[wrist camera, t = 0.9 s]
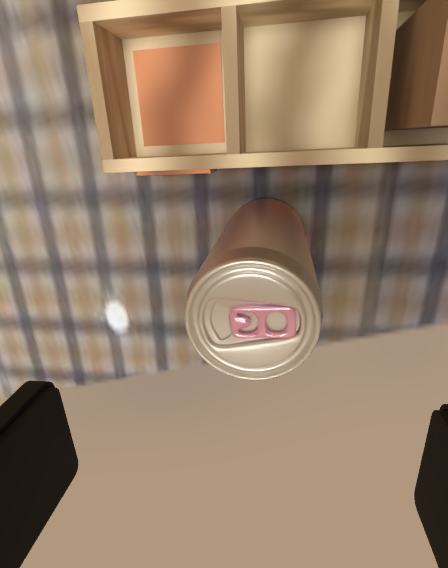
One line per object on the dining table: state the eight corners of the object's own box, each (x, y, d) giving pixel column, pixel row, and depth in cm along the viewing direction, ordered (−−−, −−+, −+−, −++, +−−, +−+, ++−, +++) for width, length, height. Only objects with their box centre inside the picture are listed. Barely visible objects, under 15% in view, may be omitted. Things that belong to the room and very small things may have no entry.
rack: (527, -13, 20) (598, -57, 16) (489, 158, 24) (538, 162, 19) (115, 30, 24) (76, 5, 20) (134, 171, 28) (104, 177, 23)
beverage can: (304, 268, 29) (325, 386, 15) (232, 271, 30) (189, 383, 16) (303, 194, 26) (326, 251, 13) (225, 199, 27) (169, 259, 14)
